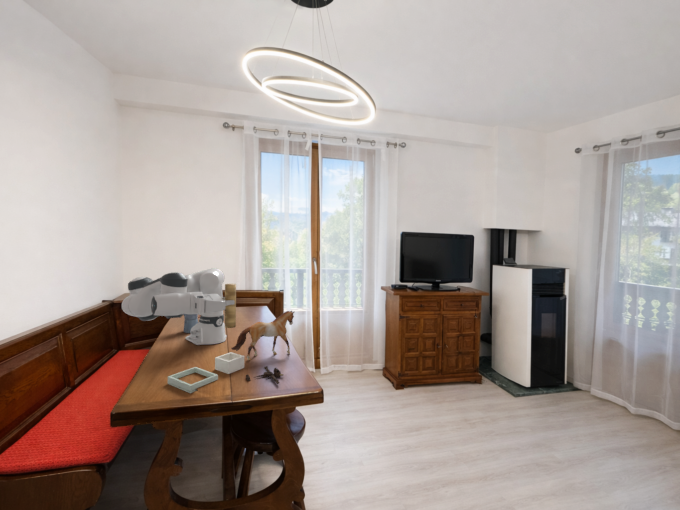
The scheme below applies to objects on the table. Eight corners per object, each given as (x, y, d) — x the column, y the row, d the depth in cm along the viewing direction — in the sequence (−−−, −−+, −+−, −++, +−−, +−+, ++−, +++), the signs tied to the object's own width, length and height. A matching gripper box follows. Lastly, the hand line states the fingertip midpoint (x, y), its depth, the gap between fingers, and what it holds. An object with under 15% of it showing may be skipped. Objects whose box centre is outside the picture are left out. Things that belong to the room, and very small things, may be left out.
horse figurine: (292, 349, 172) (293, 309, 171) (298, 354, 165) (299, 312, 164) (230, 360, 155) (231, 315, 154) (235, 365, 148) (236, 319, 147)
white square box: (214, 371, 141) (215, 357, 141) (230, 365, 148) (231, 352, 148) (228, 376, 137) (228, 361, 136) (244, 369, 144) (244, 356, 144)
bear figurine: (241, 367, 140) (275, 358, 147) (242, 377, 140) (275, 368, 147) (252, 384, 124) (289, 374, 131) (253, 395, 124) (290, 384, 131)
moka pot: (176, 334, 192) (176, 299, 191) (191, 327, 208) (191, 295, 207) (191, 335, 191) (191, 300, 190) (206, 328, 206) (206, 295, 205)
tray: (167, 383, 128) (167, 376, 128) (195, 373, 139) (195, 366, 138) (190, 393, 121) (190, 385, 121) (217, 381, 131) (218, 374, 131)
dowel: (222, 327, 141) (222, 284, 140) (230, 324, 145) (231, 283, 144) (229, 328, 139) (229, 285, 138) (237, 326, 142) (238, 284, 141)
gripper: (194, 305, 144) (228, 303, 151) (200, 316, 126) (237, 313, 133) (194, 291, 144) (228, 289, 150) (200, 299, 126) (238, 297, 132)
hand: (232, 300), depth 141 cm, fingers closed on dowel, 4 cm apart
